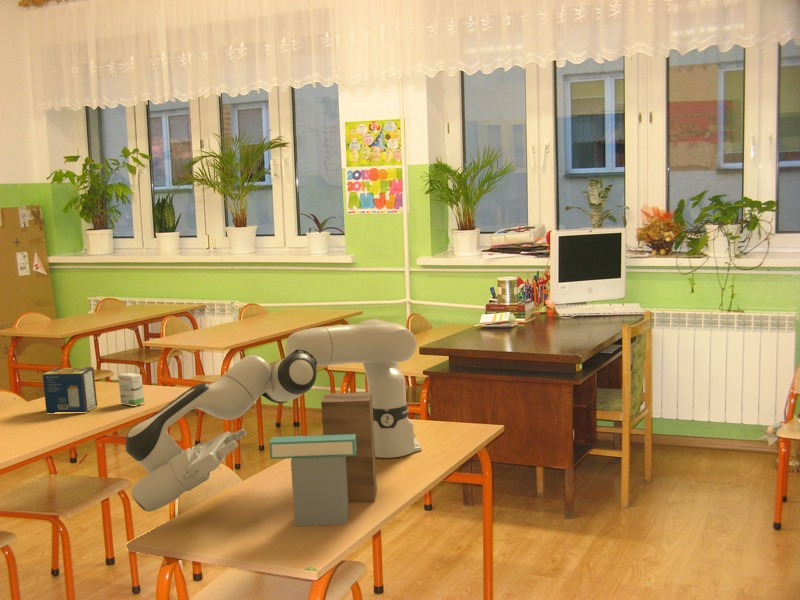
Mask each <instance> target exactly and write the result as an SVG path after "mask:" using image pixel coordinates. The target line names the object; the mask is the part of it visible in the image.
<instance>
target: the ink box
mask: <svg viewBox="0 0 800 600" xmlns="http://www.w3.org/2000/svg"><path fill="white" fill-rule="evenodd" d="M117 376H118V386H119V395H120V397H119V398H120V404H121V403H124V404H130V405H137V404H140V403H143V402H144V403H145V396H144V387H143V375H142V374H139V373H132V372H126V373H121V374H118V375H117Z"/></svg>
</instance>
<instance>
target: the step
mask: <svg viewBox="0 0 800 600" xmlns="http://www.w3.org/2000/svg"><path fill="white" fill-rule="evenodd" d="M290 459H291V460H290V467H291V468H290V469H291V470H290V471H291V482H292V483H291V485H292V486H291V487H292V498H293V499H292V500H293V515H294V526H295V527H316V526H321V527H322V526H342V525H343V526H345V525H347V522H348V517H349V513H350V509H349V508H350V507H349V503H348V488H347V470H346V456H341V457H314V458H290Z"/></svg>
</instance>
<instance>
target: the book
mask: <svg viewBox="0 0 800 600" xmlns="http://www.w3.org/2000/svg"><path fill="white" fill-rule="evenodd" d="M268 443H269V444H268V445H269V446H268V447H269V458H270V460H283V459H286V460H288V459H292V458H314V457H341V456H355V455H356V451H357V447H356V434H342V435H323V434H319V435H298V436H297V435H294V436H273V437H271V439H270V441H269V442H268Z"/></svg>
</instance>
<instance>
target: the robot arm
mask: <svg viewBox="0 0 800 600" xmlns="http://www.w3.org/2000/svg"><path fill="white" fill-rule="evenodd" d="M417 347H418V345H417V338H416V335H415V334H414V332H412V331H411V330H410V329H408V328H407V327H406V326H404V325H402V324H400V323H394V322H390V321H387V320H382V319H377V318H373V319H367V320H362V321H361V322H360V323H358V324H339V325H326V326H317V327H312V328H307V329H302V330H299V331H295V332H293V333H291V334H290V335H289V336H288V337H287V339H286V342H285V357H284V358H282V359H280V360H279V361H277V362H276V363H274V364H270V363H268V362H267V361H266V360H265V359H264V358H263V357H261V356H259V355H254V354H248V355H247V356H244V357H243V358H242V359H240V360H239V361H237V362H236V363H235V364H234V365H232V366H231V367H230V368H229V369H228V370H227V371H226V372H224V373H223V375H221V376H220V378H218V379H217V380H216V381H214V382H211V383H207V382H200V383H198V384H196V385H193V386H192V387H190V388H188V390H186V391H184V392H183V393H181V394H179V396H177V397H175V398H174V399H173V400H172V401H170V402H169V403H168V404H166V405H165V406H164V407H162V408H160V409H159V410H158V411H156V412H155V413H154V414H153V415H151V416H149V417H147V418H146V419H144V420H143V421H141V422H139V423H137V425H135V426H134V427H132V428H131V429H130V430H129V431H128V433H126V436H125V452H126V453H127V454H128V455H130V457H131V458H133V459H134V460H135V461H136V462H138V463H139V464H140V465H141V466H142V467H143V469H144V470H145V471H146V472H147V474H145V476H144V477H142V478H140V479H139V480H138V481H137V482H136V483H134V484H133V486H132V487H131V488H130V491H131V495H132V498H133V500H134V501H135V503H137V505H138V507H139V508H141V509H142V510H143V511H145V512H147V513H151V512H154V511H157V510H160V509H161V508H163V507H166V506H167V505H169V504H171V503H173V502H175V501H176V500H178V499H179V498H180V496H182V495H183V494H184V493H186V492H190V491H192V490H194V489H195V488H197V487H198V486H200V485H202V484H203V483H205V482H207V481H208V480H209V479H210V476H211V475H210V473H211V472H213V471H215V470H216V469H217V468H219V467H220V465H221V463H222V462H223V461H224V460H225V458H226V457H227V456H228V455H229V454H230V453H231V452H233V451H234V450H236V449H237V448H238V446H239V443H238V442H237V441H239V440H241V439H243V438H245V437H246V436H247V431H246V430H245V428H241V429H239V430H237V431H235V432H233V433H232V432H230V430H229V431H224V432H222V433H220V434H218V435H216V436H215V437H212V438H211V439H209V440H207V441H205V442H203V443H202V444H201V442H199V443H197V444H196V445H194V446H192V447H188V448H186V449H185V450H184V449H183V448H182V447H181V446H180V445H179V444H178V443H177V442H176V441H175V440H174V438H172V436H171V435H170V434H169V433H168V429H169V427H170V426H172V425H173V424H174V423H176V422H177V421H178V420H179V419H181V418H182V417H184V416H185V415H187V413H189V412H191V411H192V410H194V409H197V410H200V411H201V412H202V411H203V412H204V413H206V414H208V415H210V416H212V417H214V418H217V419H221V420H226V421H228V420H229V421H231V420H235V419H238V418H241V417H242V416H243V415H244V414H245V413H246V412H247V411H248V410H249V409H250V408H251V407H252V406H253V405H254V404H255V403H256V401H258V399H259V398H260V397H261V396H262V397H264V398H266V399H267V400H269V401H270V402H271V403H272V402H273V403H276V404H285V403H288V402H290V401H293V400H296V399H297V398H299V397H301V396H302V395H303V394H305V393H308V392H309V391H310V390H311V389H312V387H313V386H314V385H315V382H316V379H317V375H318V374H317V367H326V366H336V365H345V364H363V365H362V366H363V368H364V372H365V375H366V381H367V392H372V403H373V422H374V441H375V458H383V459H391V458H399V457H404V456H408V455H410V454H413V453H417V452H420V451H422V450H423V449H422V445H421V444H420V442H419V441H418V439H417V437H416V434H415V430H414V429H415V428H414V427H415V426H414V422H412V420H410V419H409V407H408V403H407V395H406V393H407V392H406V377H405V375H404V374H403V372H402V371H401V369H400V366H399V363H400V362H401V363H402V362H406V361H409V360H410V359H411V358H412V357H413V356H414V354H415V352H416V351H417V350H416V349H417Z"/></svg>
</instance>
